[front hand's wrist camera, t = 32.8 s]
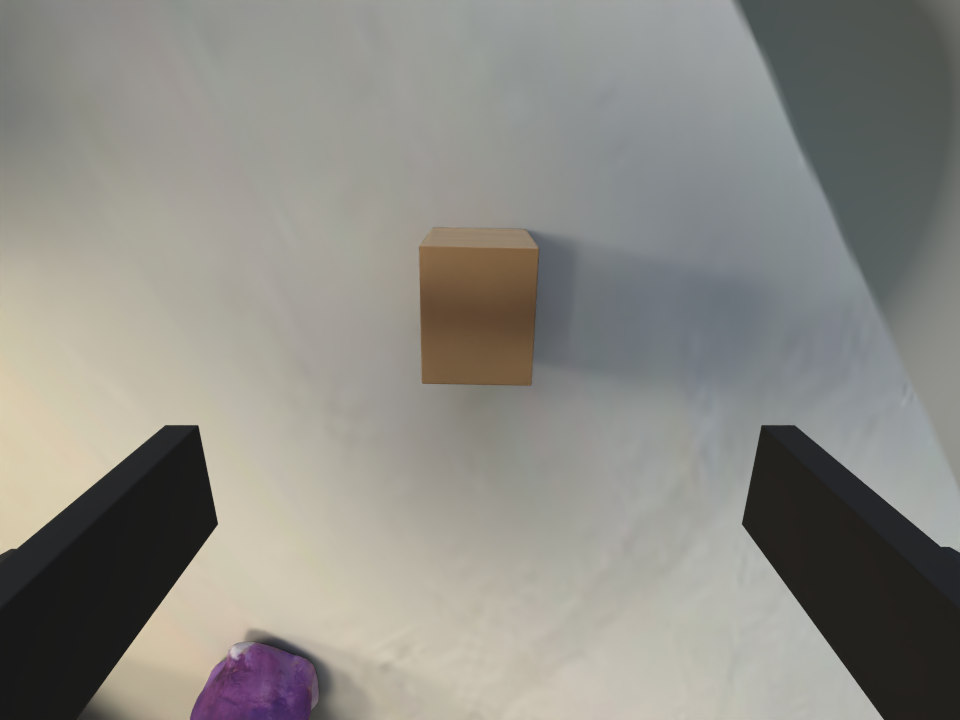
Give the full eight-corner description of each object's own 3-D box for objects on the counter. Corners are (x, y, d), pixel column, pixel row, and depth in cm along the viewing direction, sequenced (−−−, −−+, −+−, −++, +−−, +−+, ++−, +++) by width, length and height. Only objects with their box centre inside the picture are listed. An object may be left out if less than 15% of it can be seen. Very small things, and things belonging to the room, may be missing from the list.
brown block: (521, 340, 33) (531, 386, 27) (433, 339, 33) (421, 384, 26) (526, 229, 31) (539, 247, 24) (432, 227, 31) (419, 245, 24)
